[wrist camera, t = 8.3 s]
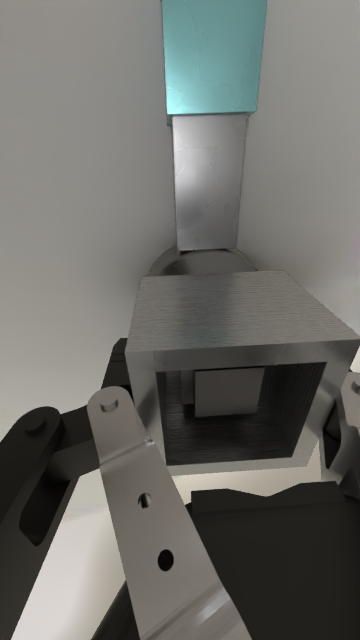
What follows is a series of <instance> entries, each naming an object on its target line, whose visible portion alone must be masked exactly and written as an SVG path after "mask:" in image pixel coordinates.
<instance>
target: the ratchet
mask: <svg viewBox="0 0 360 640" xmlns="http://www.w3.org/2000/svg"><path fill="white" fill-rule="evenodd" d="M266 7H267V0H161V9H162V30H163V51H164V72H165V93H166V114H167V125H172V150H173V175H174V200H175V225H176V242H177V245H175V246H174V247H172V248H170V249H169V250H167V251H166V252H165V253H163V254H162V255H161V256H160V257H159V258H158V260H157V261H156V262H155V263H154V265H153V266H152V268H151V270H150V272H149V274H148V277H153V276H173V275H194V274H214V273H234V272H255V271H258V270H257V269H256V268H255V267H254V266H253V264H252V263H251V262H250V261H249V260H248V259H247V258H246V257H245V256H244V255H243V254H242V253H241V252H240V251H239V250H238V249H236V240H237V228H238V217H239V205H240V193H241V182H242V170H243V159H244V147H245V136H246V124H247V117H248V116H249V115H251V114H253V113H254V112H256V107H257V97H258V87H259V77H260V67H261V57H262V47H263V37H264V27H265V17H266ZM264 370H265V367H264V365H261V366H244V367H228V368H211V369H194V370H180V379H181V393H182V404H192V403H194V410H195V417H204V416H219V415H235V414H251V413H256V410H257V405H258V400H259V395H260V390H261V385H262V380H263V375H264Z"/></svg>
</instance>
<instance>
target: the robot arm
mask: <svg viewBox="0 0 360 640" xmlns="http://www.w3.org/2000/svg"><path fill="white" fill-rule="evenodd" d="M127 340H128V338H120V339H119V341H118V342H117V343H116V344H115V345H114V347H113V350H112V353H111V357H110V360H109V364H108V367H107V370H106V374H105V377H104V380H103V384H102V387H101V390H99V391H97V392H96V393H95V394H94V395H93V396H92V397H91V398H90V400H89V401H88V404H87V405H85V406H83V407H81V408H78V409H76V410H72V411H69V412H66V413H63V414H60V413H59V411H58V410H57V409H55V408H53V407H49V406H46V407H39V408H36V409H33V410H31V411H29V412H28V413H26V414H24V415H23V416H22V417H21V418H19V419H18V420H17V422H16V423H15V424H14V425H13V426H12V428H11V429H10V430H9V432H8V433H7V434H6V436H5V437H4V438H3V440H2V441H1V442H0V640H11V638H12V635H13V633H14V631H15V628H16V626H17V623H18V621H19V619H20V616H21V614H22V612H23V609H24V607H25V604H26V602H27V600H28V597H29V595H30V593H31V590H32V588H33V585H34V583H35V581H36V579H37V576H38V574H39V571H40V569H41V566H42V564H43V562H44V560H45V557H46V555H47V552H48V550H49V548H50V545H51V543H52V541H53V538H54V536H55V534H56V531H57V529H58V526H59V524H60V522H61V519H62V517H63V515H64V512H65V510H66V507H67V505H68V503H69V500H70V498H71V496H72V493H73V491H74V489H75V486H76V484H77V481H78V479H79V477H80V476H81V475H84V474H86V473H89V472H91V471H94V470H96V469H99V468H100V472H101V477H102V481H103V485H104V489H105V493H106V498H107V502H108V506H109V510H110V514H111V518H112V523H113V527H114V531H115V535H116V539H117V543H118V548H119V552H120V556H121V560H122V564H123V569H124V573H125V577H126V580H125V582H124V584H123V586H122V587H121V589H120V591H119V592H118V594H117V596H116V597H115V599H114V601H113V603H112V605H111V606H110V608H109V610H108V611H107V613H106V615H105V616H104V618H103V620H102V622H101V623H100V625H99V627H98V628H97V630H96V632H95V634H94V635H93V637H92V639H91V640H360V373H357V372H352V370H350V369H349V371H348V373H347V375H346V378H345V380H344V382H343V385H342V387H341V388H340V391H339V393H338V395H337V397H336V400H335V403H334V405H333V407H332V409H331V412H330V414H329V416H328V418H327V421H326V423H325V425H324V427H323V430H322V431H321V434H320V436H319V449H320V462H321V482H311V483H300V484H298V485H295V486H293V487H290V488H288V489H286V490H283V491H281V492H279V493H276V494H274V495H272V496H267V497H265V496H259V495H254V494H250V493H245V492H241V491H236V490H231V489H213V490H199V491H191V503H188V504H186V505H184V503H183V500H182V498H181V496H180V494H179V492H178V490H177V488H176V486H175V483H174V481H173V479H172V477H171V475H170V473H169V471H168V469H167V466H166V464H165V462H164V460H163V458H162V456H161V454H160V452H159V449H158V447H157V445H156V444H155V442H154V440H153V439H151V440H150V438H149V436H148V434H147V432H146V430H145V428H144V425H143V423H142V421H141V419H140V417H139V414H138V412H137V410H136V408H135V403H134V398H133V393H132V388H131V383H130V378H129V372H128V367H127V362H126V357H125V349H126V344H127Z"/></svg>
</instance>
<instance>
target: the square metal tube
mask: <svg viewBox="0 0 360 640" xmlns="http://www.w3.org/2000/svg"><path fill="white" fill-rule="evenodd" d="M359 346H360V336H359V335H358V334H356V333H355V332H354V331H353V330H352V329H351V328H349V327H348V326H347V325H346V324H345V323H344V322H342V321H341V320H340V319H339V318H338V317H337V316H335V315H334V314H333V313H332V312H331V311H330V310H328V309H327V308H326V307H325V306H324V305H323V304H321V303H320V302H319V301H318V300H317V299H315V298H314V297H313V296H312V295H311V294H310V293H308V292H307V291H306V290H305V289H304V288H303V287H301V286H300V285H299V284H298V283H297V282H296V281H294V280H293V279H292V278H291V277H290V276H289V275H287V274H286V273H285V272H284V271H283V270H275V271H255V272H234V273H214V274H194V275H173V276H153V277H142V278H141V282H140V287H139V291H138V295H137V300H136V304H135V309H134V313H133V318H132V322H131V326H130V331H129V335H128V340H127V344H126V349H125V357H126V362H127V367H128V372H129V378H130V383H131V388H132V393H133V398H134V403H135V408H136V410H137V412H138V414H139V417H140V419H141V421H142V423H143V425H144V428H145V430H146V432H147V434H148V436H149V438H150V440H151V439H153V440H154V442H155V444H156V445H157V447H158V449H159V452H160V454H161V456H162V458H163V460H164V462H165V464H166V466H167V469H168V471H169V473H170V475H171V476H176V475H190V474H204V473H219V472H233V471H247V470H262V469H276V468H289V467H304V466H307V464H308V461H309V459H310V457H311V455H312V452H313V450H314V448H315V446H316V443H317V441H318V439H319V436H320V434H321V431H322V430H323V427H324V425H325V423H326V421H327V418H328V416H329V414H330V412H331V409H332V407H333V405H334V403H335V400H336V397H337V395H338V393H339V391H340V388H341V387H342V385H343V382H344V380H345V378H346V375H347V373H348V371H349V369H350V366H351V364H352V362H353V359H354V357H355V355H356V353H357V351H358V348H359ZM261 365H264V367H265V370H264V375H263V380H262V385H261V390H260V395H259V400H258V405H257V410H256V413H251V414H235V415H219V416H204V417H195V410H194V403H192V404H182V393H181V379H180V370H194V369H211V368H228V367H244V366H261Z"/></svg>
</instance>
